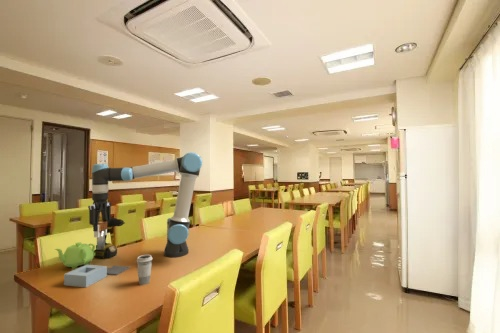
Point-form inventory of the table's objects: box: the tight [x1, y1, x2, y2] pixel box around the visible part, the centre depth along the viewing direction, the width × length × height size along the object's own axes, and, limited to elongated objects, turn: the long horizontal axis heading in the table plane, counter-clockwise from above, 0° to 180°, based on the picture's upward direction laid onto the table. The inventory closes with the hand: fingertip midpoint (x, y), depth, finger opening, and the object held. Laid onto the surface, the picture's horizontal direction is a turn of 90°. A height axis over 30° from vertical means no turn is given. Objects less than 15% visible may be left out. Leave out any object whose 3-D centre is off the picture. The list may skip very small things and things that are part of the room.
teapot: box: [54, 242, 96, 270], centre depth 135 cm, size 16×14×13 cm
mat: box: [107, 265, 131, 276], centre depth 128 cm, size 10×10×1 cm
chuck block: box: [63, 264, 108, 288], centre depth 116 cm, size 12×12×5 cm
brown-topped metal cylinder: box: [96, 222, 107, 250], centre depth 130 cm, size 4×4×14 cm
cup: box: [136, 254, 153, 286], centre depth 113 cm, size 7×7×12 cm
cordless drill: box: [93, 215, 126, 260], centre depth 151 cm, size 8×21×25 cm, turn 78°
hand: (100, 235), depth 130 cm, fingers closed on brown-topped metal cylinder, 4 cm apart
